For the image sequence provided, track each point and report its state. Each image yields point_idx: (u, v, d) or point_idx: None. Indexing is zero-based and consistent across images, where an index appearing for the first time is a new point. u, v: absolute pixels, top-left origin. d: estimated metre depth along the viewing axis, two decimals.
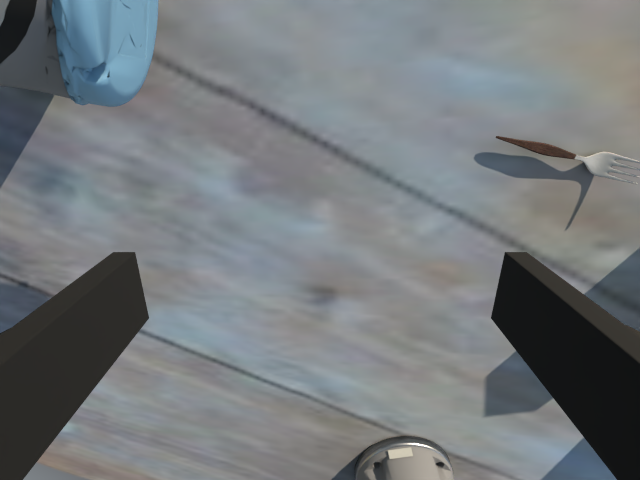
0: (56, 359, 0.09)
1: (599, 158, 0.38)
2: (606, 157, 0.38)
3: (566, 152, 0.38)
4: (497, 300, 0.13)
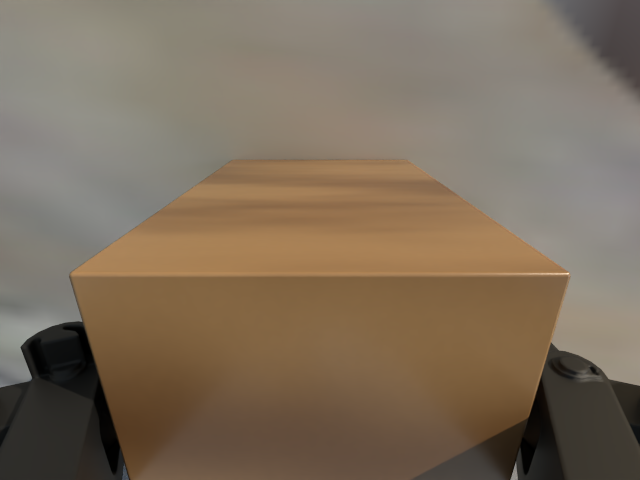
0: None
1: None
2: None
3: None
4: None
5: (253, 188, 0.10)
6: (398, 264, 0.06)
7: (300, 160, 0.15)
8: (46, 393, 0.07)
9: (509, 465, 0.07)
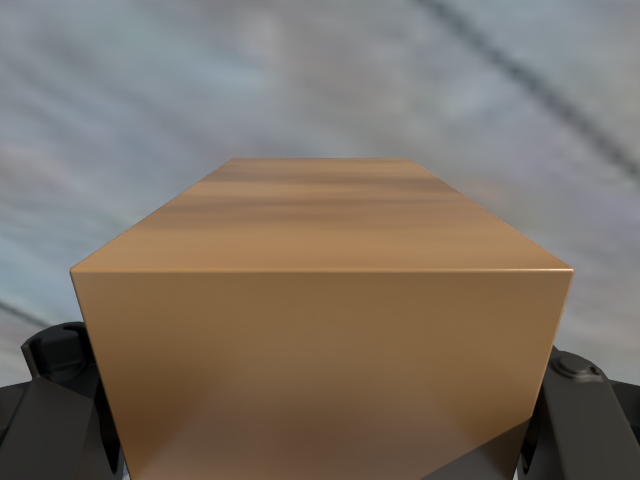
0: None
1: None
2: None
3: None
4: None
5: (254, 186, 0.10)
6: (401, 260, 0.06)
7: (301, 158, 0.15)
8: (46, 393, 0.07)
9: (512, 463, 0.07)
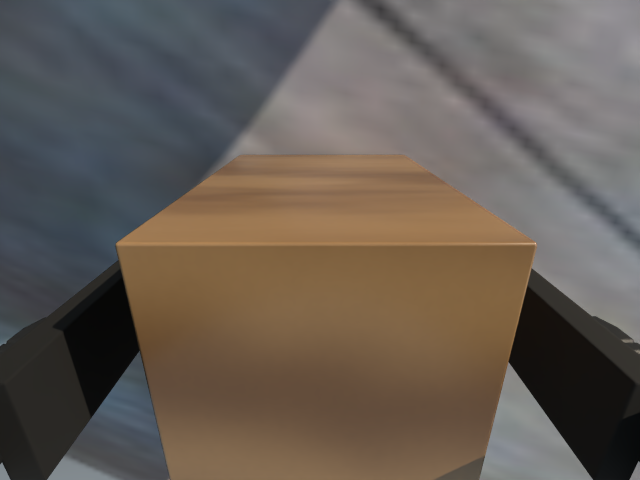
0: (88, 348, 0.09)
1: None
2: None
3: None
4: None
5: (262, 179, 0.11)
6: (393, 237, 0.07)
7: (304, 155, 0.16)
8: None
9: (490, 415, 0.08)
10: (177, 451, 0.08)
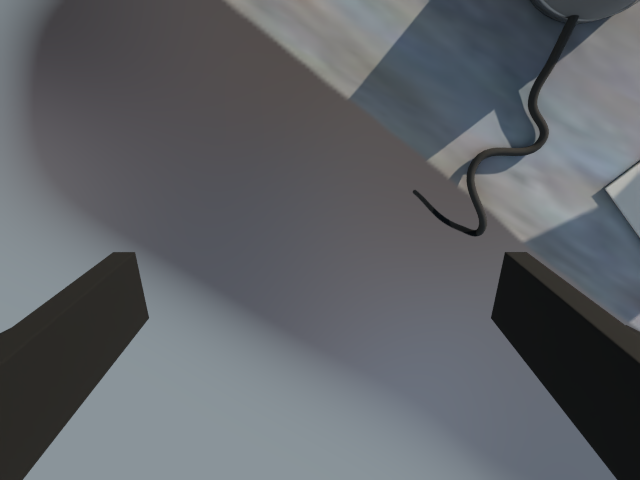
0: (56, 359, 0.09)
1: None
2: None
3: None
4: (497, 300, 0.13)
5: None
6: None
7: None
8: None
9: None
10: None
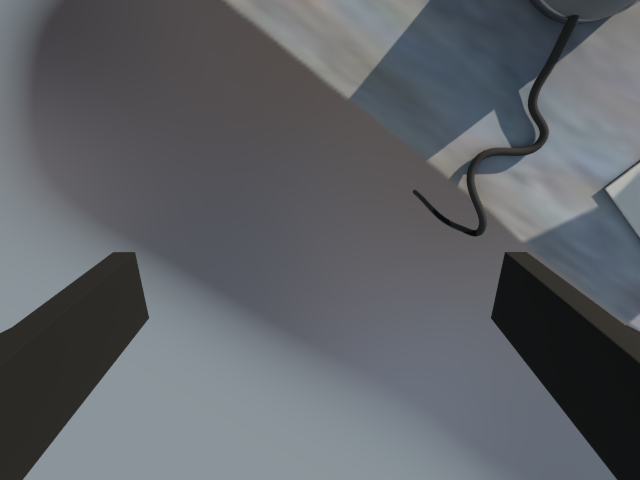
0: (56, 359, 0.09)
1: None
2: None
3: None
4: (497, 300, 0.13)
5: None
6: None
7: None
8: None
9: None
10: None
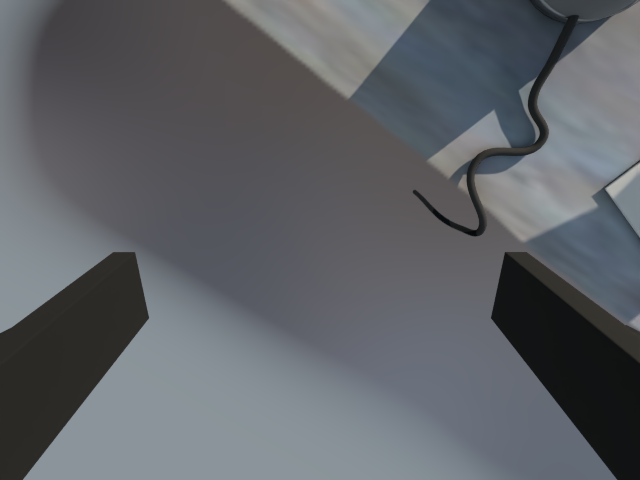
0: (56, 359, 0.09)
1: None
2: None
3: None
4: (497, 300, 0.13)
5: None
6: None
7: None
8: None
9: None
10: None
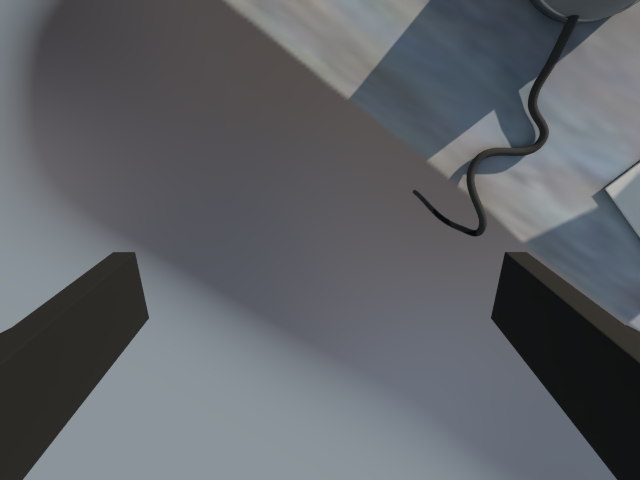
0: (56, 359, 0.09)
1: None
2: None
3: None
4: (497, 300, 0.13)
5: None
6: None
7: None
8: None
9: None
10: None
